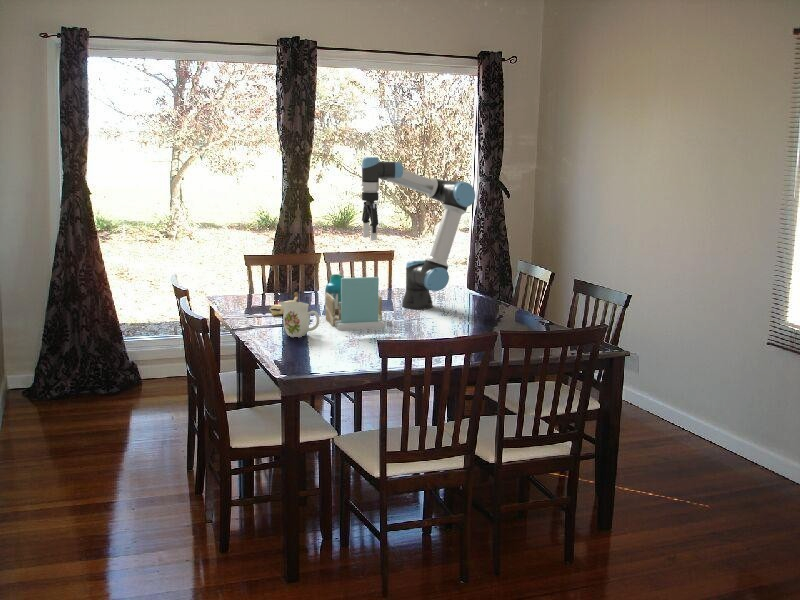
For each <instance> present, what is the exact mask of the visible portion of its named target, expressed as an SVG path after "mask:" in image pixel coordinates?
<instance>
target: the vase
mask: <svg viewBox="0 0 800 600" xmlns="http://www.w3.org/2000/svg"><path fill="white" fill-rule="evenodd" d="M341 278H343V275H342V274H338V273H337V274H330V281H329V282H328V283H327V284H326V285H325V292H324V305H325V307H326V293H329V294H330V295H331V296H332V297H333V298H334V299H335V315H339V302H341Z"/></svg>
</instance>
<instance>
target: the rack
mask: <svg viewBox="0 0 800 600" xmlns="http://www.w3.org/2000/svg"><path fill="white" fill-rule="evenodd" d="M378 319H381V321H383V297H382V295H379V294H378ZM325 321H326V322H328V323H329V324H330V325H331V326H332V327H335V321H339V316H336V314H335V299H334V298H333V297H332V296H331V295H330V294H329V293H326V306H325Z"/></svg>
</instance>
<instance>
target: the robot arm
mask: <svg viewBox="0 0 800 600" xmlns="http://www.w3.org/2000/svg"><path fill="white" fill-rule="evenodd" d="M379 180H383V181H386V182H389V183H392V184H394V185H395V184H396V185H397V186H402V187H404V188H407V189H411V190H413V191H416V192H420V193H422V194H425V195H426V196H427V198H431V199H433V200H436V201H438V202H440V203H442V206H443V209H444V211H443V213H442V214H443V215H442V217H441V220H440V224H439V226H438V227H439V228H438V229H437V233H436V236H435V239H434V242H433V246H432V248H431V252H430V255H429V256H428V257H427V258H425V260H410V261H407V262H406V266H405V293H404V295H403V299H402V302H401V306H402V307H403V308H405V307H406V309H411V308H414V310H425V309H424V308H426V309H431V308H432V307H433V299H432V296H431V292H430V291H432V292H439V291H441V290H443V289H444V288H446V287H447V285H448V283H449V281H450V276H449V272H448V270H449V264H448V259H449V255H450V252H451V249H452V247H453V243H454V240H455V238H456V234H457V231H458V228H459V224H460V222H461V219H462V215H464V214H466V213H467V209H468V207H470V206H471V205H473V204H474V203H475V199H476V191H475V189H474V187H473V185H472V184H471V183H469V182H466V181H462V180H460V181H459V180H444V179H443V180H442V179H439V178H434V177H433V178H428V177H426V176H422V175H420V174H417V173H414V172H411V171H408V170H405V169H404V166H403V164H402V162H400V161H382V160H381V161H380V159H379V157H378V156H376V157H375V156H374V157H373V156H365V157H363V158H362V161H361V184H360V187H361V191H362V192H361V200H362V202H363V208H362V210H363V211H362V216H361V221H362V234H363V235H362V237H363V238H370V241H377V240H378V225H379V215H378V207H377V205H378V204H377V203H375V201H377V202H378V201H379V190H380V189H379V188H380V187H379V186H380V185H379V184H380V183H379ZM430 307H431V308H430Z"/></svg>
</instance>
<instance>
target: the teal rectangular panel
mask: <svg viewBox="0 0 800 600" xmlns="http://www.w3.org/2000/svg"><path fill="white" fill-rule="evenodd" d="M379 280H380V279H379V276H366V277H365V276H364V277H362V276H361V277H342V278H341V323H355V322H376V321H378V295H379Z"/></svg>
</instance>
